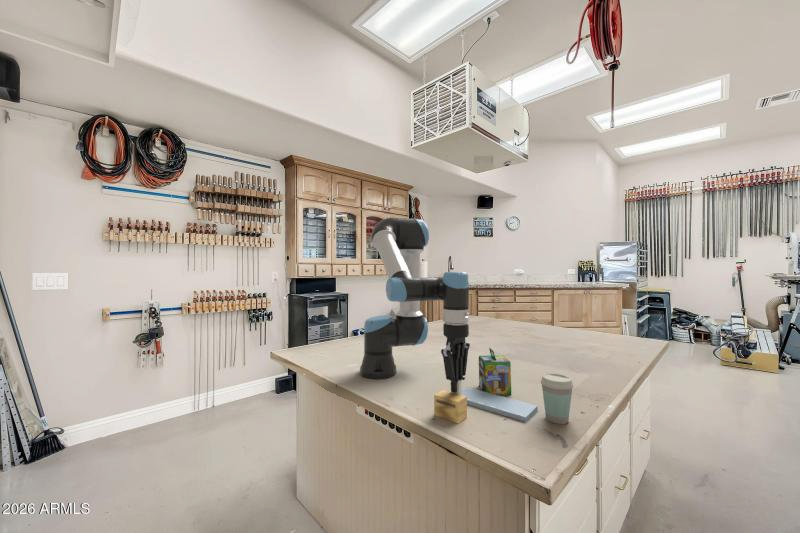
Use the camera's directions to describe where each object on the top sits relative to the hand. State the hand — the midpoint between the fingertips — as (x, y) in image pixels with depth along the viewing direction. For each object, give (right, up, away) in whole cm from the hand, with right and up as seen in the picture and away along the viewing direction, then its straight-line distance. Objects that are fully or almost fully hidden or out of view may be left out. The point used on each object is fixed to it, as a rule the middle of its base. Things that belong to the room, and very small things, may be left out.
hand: (456, 401), depth 96 cm
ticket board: (+13, -3, +6) cm, 14 cm away
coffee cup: (+28, -4, -4) cm, 29 cm away
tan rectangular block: (-2, -3, -2) cm, 5 cm away
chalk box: (+17, -4, +18) cm, 25 cm away
